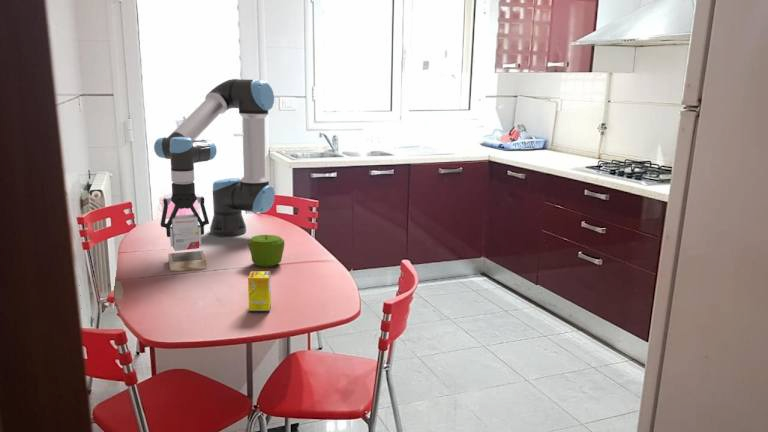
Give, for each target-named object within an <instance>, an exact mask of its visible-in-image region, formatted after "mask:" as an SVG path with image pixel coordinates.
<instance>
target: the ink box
mask: <svg viewBox="0 0 768 432" xmlns="http://www.w3.org/2000/svg"><path fill="white" fill-rule="evenodd" d="M198 225H199V222H198V217H197V216H196V217H195V215H194V214H181V215H176V216H175V218H173V219H172V224H171V227H172V232H173V247H172V248H173V250H174V252H180V251H186V250H196V249H200V245H199V231H198Z"/></svg>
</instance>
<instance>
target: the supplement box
mask: <svg viewBox="0 0 768 432" xmlns="http://www.w3.org/2000/svg"><path fill="white" fill-rule="evenodd" d="M271 277H272V275H271V271H267V270H266V271H259V270H258V271H257V270H255V271H253V270H252V271H250V272H249V275H248V277H247V279H248V280H247V284H248V285H247V286H248V287H247V289H248V313H249V314H269V313H270V311H271V308H272V291H271V290H272V289H271V288H272V284H271V282H272V281H271V279H272V278H271Z"/></svg>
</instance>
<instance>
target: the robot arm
mask: <svg viewBox="0 0 768 432" xmlns="http://www.w3.org/2000/svg"><path fill="white" fill-rule="evenodd" d="M274 103H275V95H274V90H273V88H272V86H271V85H270V83H268V82H267V81H265V80H260V79H246V78H245V79H242V78H241V79H238V78H231V79H228V80H225V81H223V82H222V83H220V84H218V85H216V86H215V87H214V88H212V89H211V90H210V91H209V92H208V93H207V94H206V95H205V98H204V101H203V102H202V103H201V104H200V105H199V106H198V107H196V109H195V110H194V111H193V112H192V113H191V114H189V116H188V117H187V118H186V119H184V120H183V121H182V123H180V125H179V126H177V127H176V129H174V130H173V131H172V132H171V134H169V135H168V136H167V137H165V136H164V137H158V138H157V139H156V140H155V142H154V145H153V151H154V154H155V155H156V156H157V157H159V158H161V159H165V160H170V173H171V174H170V175H171V177H170V178H171V182H172V183H171V193H172V194H171V197H168V198H167V197H164V198H163V199H162V201H163V209H162V214H161V220H160V227H161V228H165V229H166V230H165V231H166V237H167V238H169V239H170V243H169V244H170V247H171V248H173V232H172V219H173V218H175V216H177V213H178V212H179V210H183V209H186V210H188V209H190V211H191V212H192V213H193V214H194V215H195V217H196V216H197V217H198V231H199V246H201V245H202V236H204V235H205V226H207V225H209V224H210V227H209V230H210V232H209V233H210V234H211V235H213V236H217V237H234V236H240V235H244V234H246V232H247V224H246V222H245V219H244V216H243V213H242V212H243V211H244V212H252V213H256V214H257V213H260V214H262V213H267V212H268V211H269V210H270V209H271V208H272V206H273V205H274V202H275V196H276V194H275V192H276V191H275V189H274V187H273V186H272V185H270V180H269V179H268V178H267V176H266V149H265V148H266V138H265V137H266V136H265V135H266V133H265V130H266V129H265V124H266V123H265V120H266V119H265V118H266V117H267V116H268V115H269V111H270V110H271V109H272V108H273V106H274ZM230 109H238V115H239V116H241V117H242V136H243V137H242V139H243V143H242V145H243V177H240V178H239V177H233V178H223V179H218V180H215V181H214V182H213V183H212V191H211V192H212V204H213V207H212V208H213V217H212V220H211V223H210V221H209V218H208V214H207V209H206V207H205V197H204V196H203V195H202V196H197V195H196V190H195V182H194V181H195V168H194V164H197V163H202V162H208V161H212V160H213V159H215V157H216V156H217V152H218V151H217V145H216V144H215V143H214V142H213V140H211V139H210V140H209V139H201V140H198V139H197V138H198V137H199V136H200V135H201V134H202V133H203V132H204V131H205V130H206V129H207V128H208V127H209V126H210V124H212V123H213V121H215V119H216V118H218V116H219V115H220V114H221V115H222V114H224V113H225V112H226V111H228V110H230ZM196 139H197V140H196ZM196 201H197V202H198V203H199V205H200V208H201V213H202V216H203V220H202V218H201V216H200V215H199V213H198V212H197V210H196V208H195V206H194V204H195V203H196ZM171 202H172V203H173V205H174V207H173V209H172V211H171V214H170V216H169V218H168V220H167V223H166V219H167V213H168V209H169V205H170V204H171Z"/></svg>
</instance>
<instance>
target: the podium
mask: <svg viewBox="0 0 768 432" xmlns="http://www.w3.org/2000/svg"><path fill="white" fill-rule="evenodd" d="M167 255H168V256H167V257H168V258H167V259H168V264H169V265H168V267H169V271H170V272H180V271H181V272H182V271H192V270H201V269H207V259H206V257H205V254H204V251H203V250H194V251H182V252H180V251H179V252H171V253H170V252H169V253H168V254H167Z"/></svg>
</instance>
